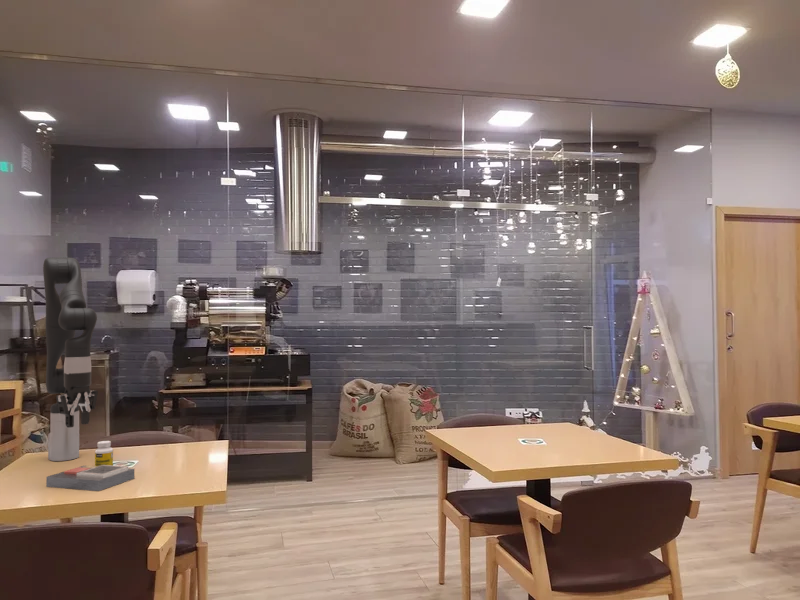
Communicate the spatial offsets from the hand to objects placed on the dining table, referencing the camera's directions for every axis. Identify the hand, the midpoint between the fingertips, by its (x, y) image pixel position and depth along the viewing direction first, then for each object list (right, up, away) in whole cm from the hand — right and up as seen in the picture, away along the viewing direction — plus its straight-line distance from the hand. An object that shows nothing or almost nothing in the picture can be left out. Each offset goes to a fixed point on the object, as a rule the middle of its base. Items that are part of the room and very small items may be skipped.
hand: (77, 425), depth 179 cm
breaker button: (0, -17, -1) cm, 17 cm away
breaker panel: (+6, -17, -2) cm, 18 cm away
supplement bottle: (+3, -18, +11) cm, 21 cm away
